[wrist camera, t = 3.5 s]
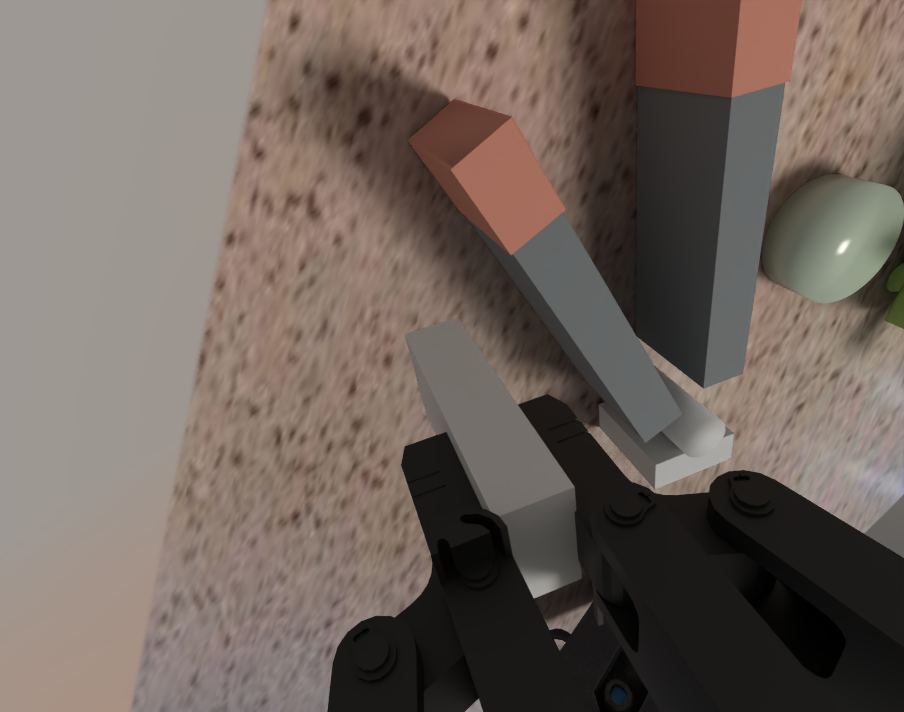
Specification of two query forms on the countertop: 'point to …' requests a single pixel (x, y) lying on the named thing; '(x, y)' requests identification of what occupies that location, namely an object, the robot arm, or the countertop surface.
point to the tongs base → (701, 204)
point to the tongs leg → (543, 255)
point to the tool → (602, 668)
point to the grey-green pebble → (832, 236)
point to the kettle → (900, 311)
